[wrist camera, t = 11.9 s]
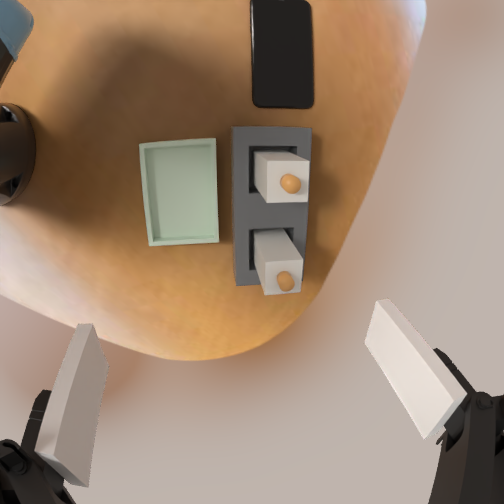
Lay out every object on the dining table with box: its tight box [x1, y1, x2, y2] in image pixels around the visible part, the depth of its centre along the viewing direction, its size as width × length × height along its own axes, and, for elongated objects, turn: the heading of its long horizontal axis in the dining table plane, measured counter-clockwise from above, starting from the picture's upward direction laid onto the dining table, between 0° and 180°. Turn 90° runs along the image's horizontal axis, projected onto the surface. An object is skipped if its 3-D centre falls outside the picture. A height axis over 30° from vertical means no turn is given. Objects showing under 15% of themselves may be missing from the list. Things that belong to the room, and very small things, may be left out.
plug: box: [252, 228, 303, 295], centre depth 36 cm, size 4×4×12 cm
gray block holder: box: [231, 126, 312, 286], centre depth 34 cm, size 9×20×12 cm, turn 0°
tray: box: [139, 138, 219, 246], centre depth 37 cm, size 9×13×2 cm
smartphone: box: [250, 0, 314, 109], centre depth 31 cm, size 8×1×16 cm
